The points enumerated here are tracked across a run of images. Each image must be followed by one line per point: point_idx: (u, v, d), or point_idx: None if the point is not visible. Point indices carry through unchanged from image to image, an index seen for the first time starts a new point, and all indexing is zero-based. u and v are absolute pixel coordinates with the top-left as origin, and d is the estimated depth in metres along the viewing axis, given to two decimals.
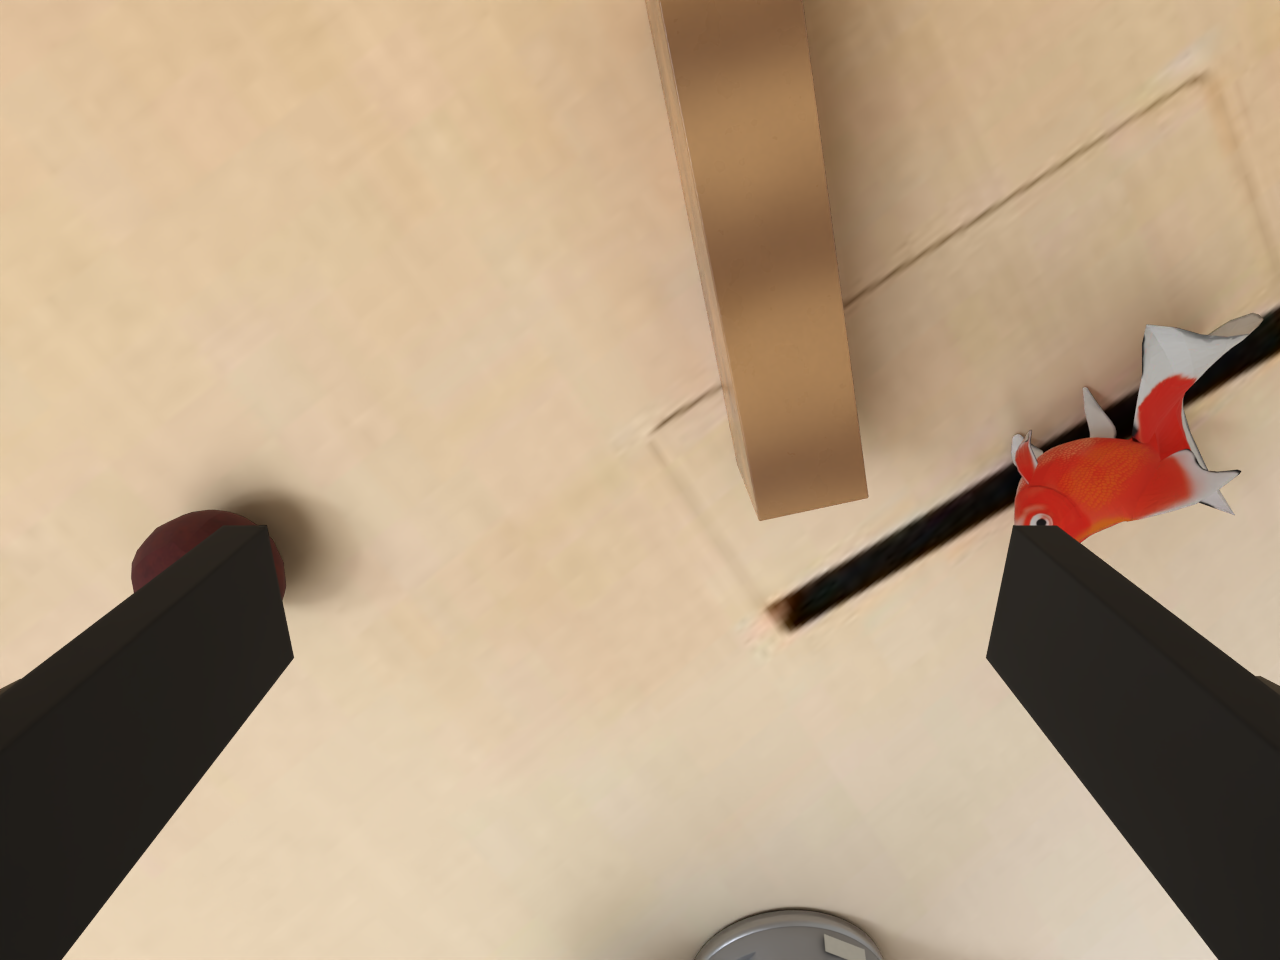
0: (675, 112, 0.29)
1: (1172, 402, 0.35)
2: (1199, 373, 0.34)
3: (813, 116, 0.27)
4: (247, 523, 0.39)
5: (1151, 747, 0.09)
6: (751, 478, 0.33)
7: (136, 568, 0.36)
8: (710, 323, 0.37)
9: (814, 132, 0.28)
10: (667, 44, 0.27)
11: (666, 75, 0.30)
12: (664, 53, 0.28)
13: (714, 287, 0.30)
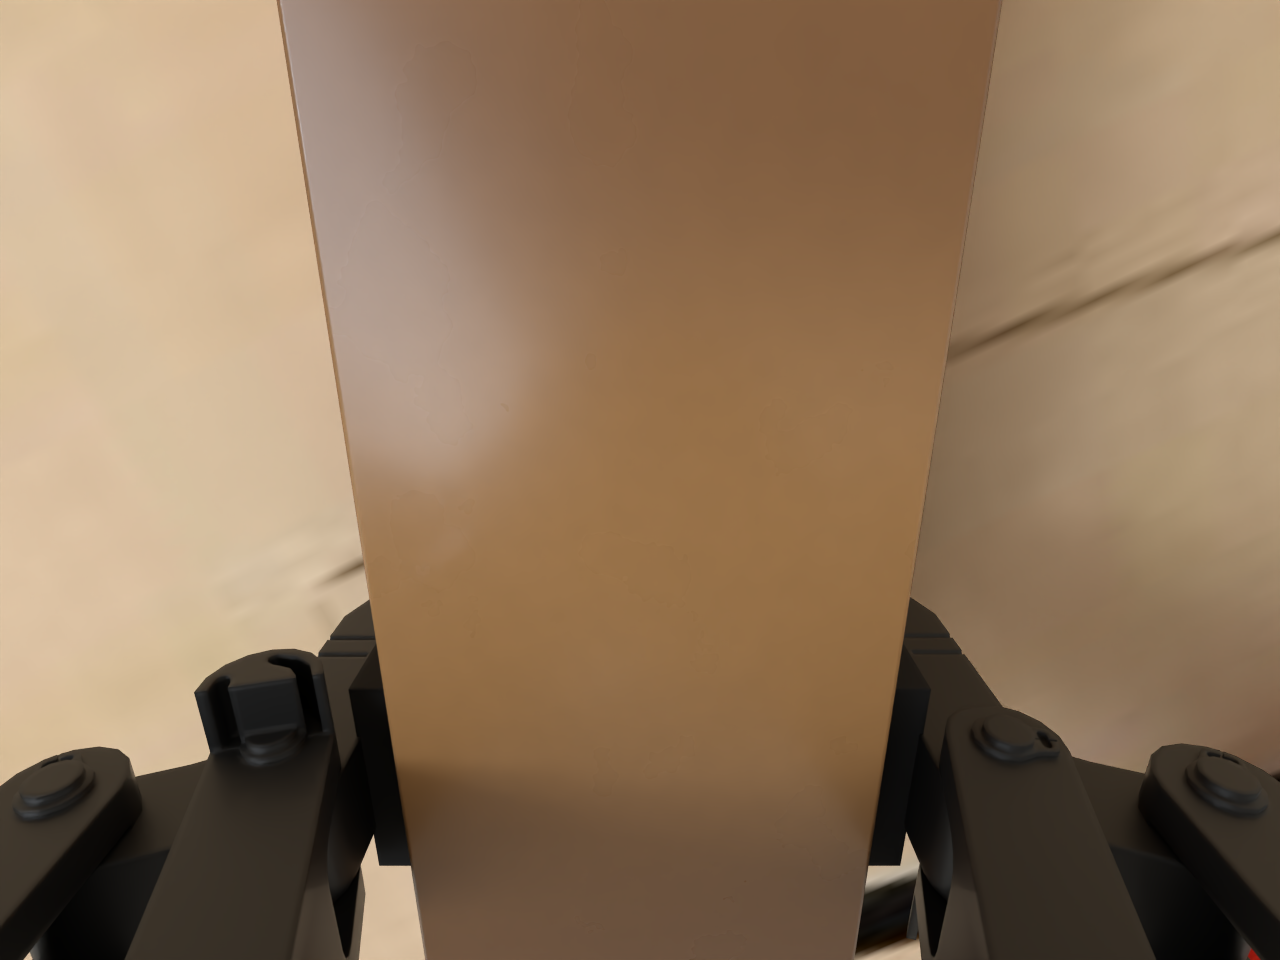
0: None
1: None
2: None
3: None
4: None
5: None
6: None
7: None
8: None
9: None
10: None
11: None
12: None
13: (310, 180, 0.06)
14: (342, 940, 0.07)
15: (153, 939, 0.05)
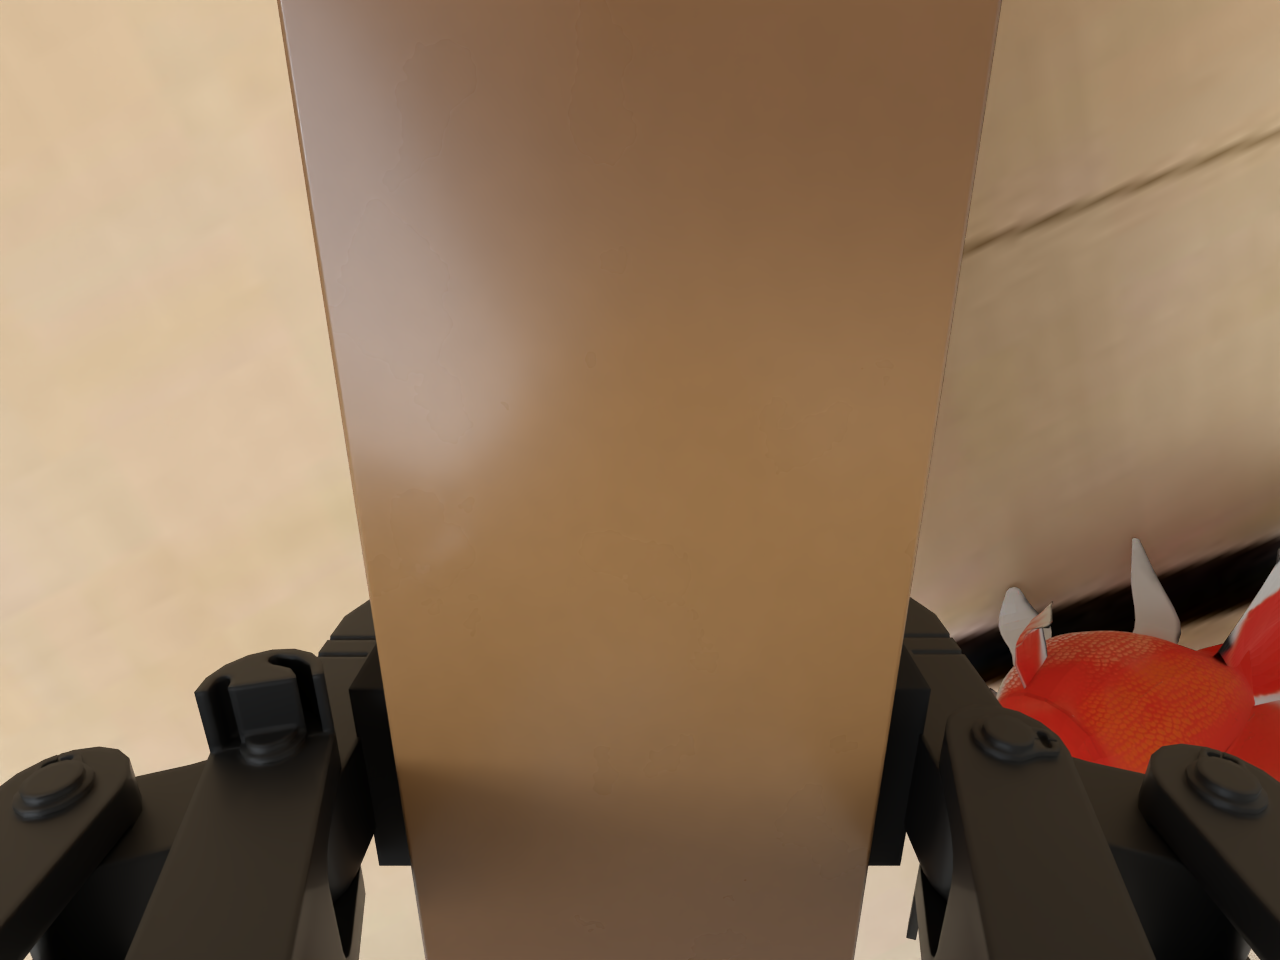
0: None
1: None
2: None
3: None
4: None
5: None
6: None
7: None
8: None
9: None
10: None
11: None
12: None
13: (310, 178, 0.06)
14: (342, 940, 0.07)
15: (153, 939, 0.05)
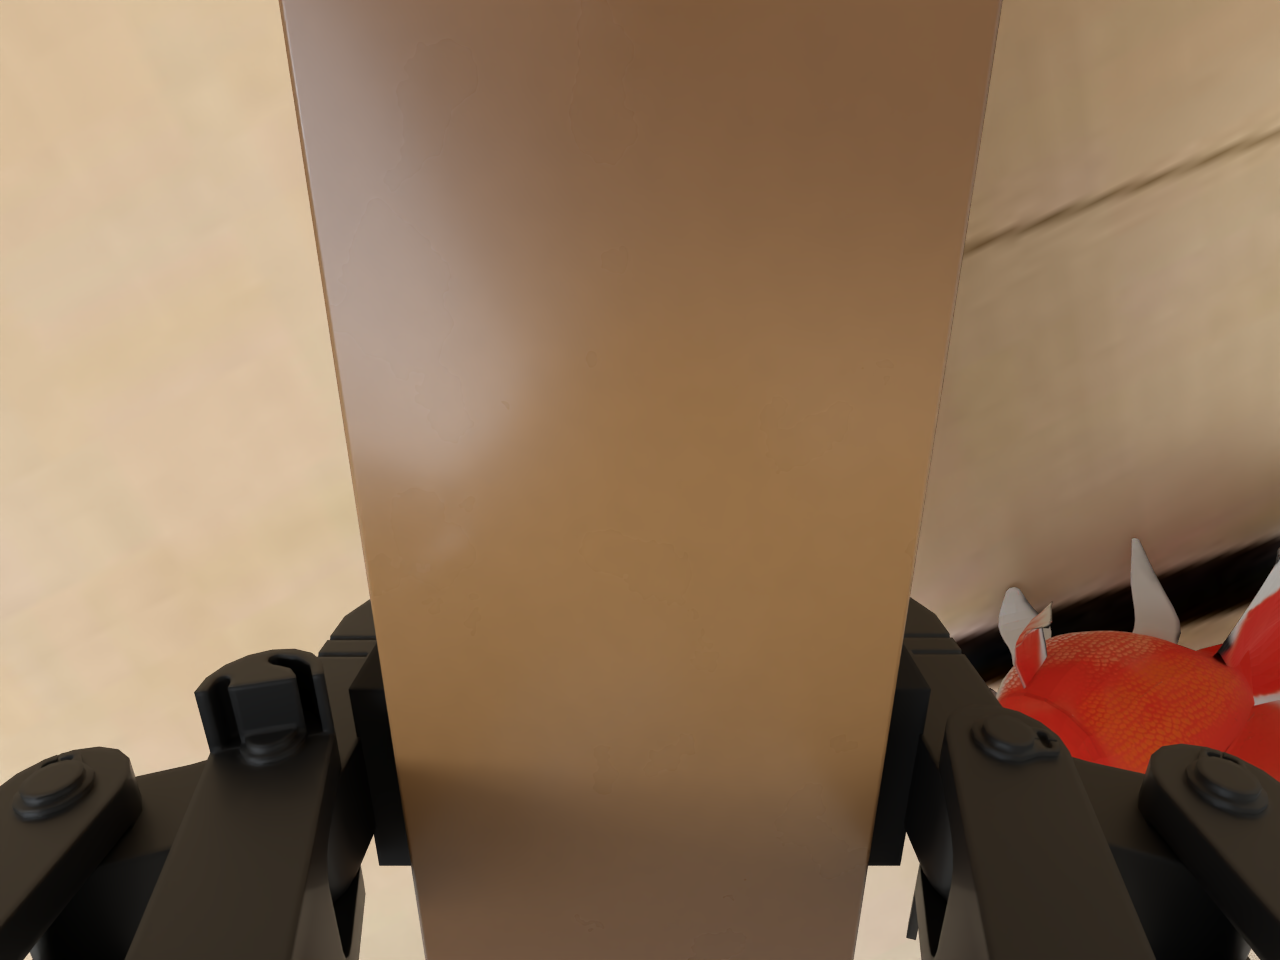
0: None
1: None
2: None
3: None
4: None
5: None
6: None
7: None
8: None
9: None
10: None
11: None
12: None
13: (311, 177, 0.06)
14: (342, 940, 0.07)
15: (153, 939, 0.05)
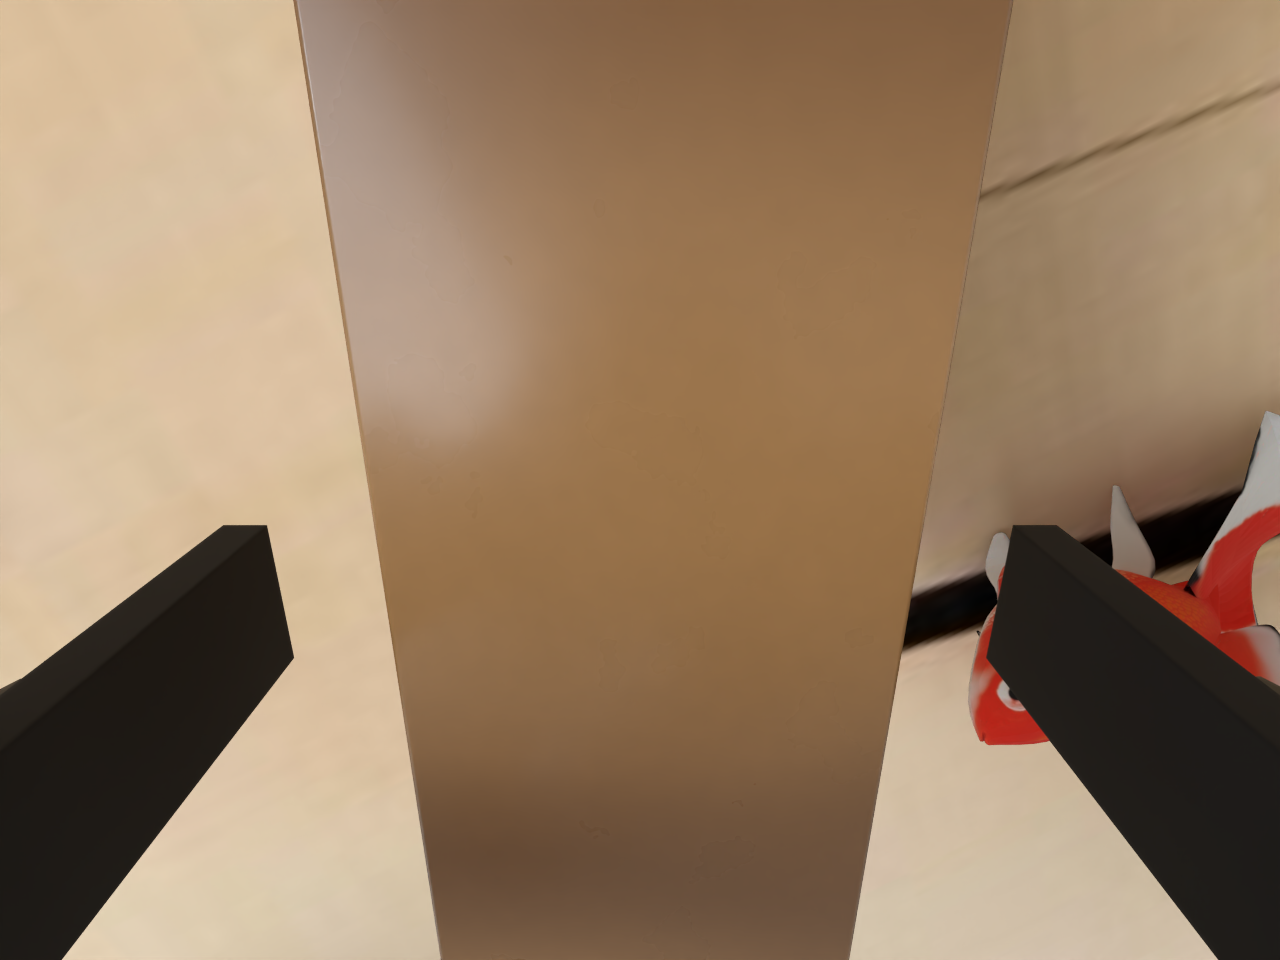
0: None
1: (1259, 544, 0.21)
2: None
3: None
4: None
5: (1149, 747, 0.09)
6: (431, 871, 0.08)
7: None
8: None
9: None
10: None
11: None
12: None
13: (299, 0, 0.05)
14: None
15: None
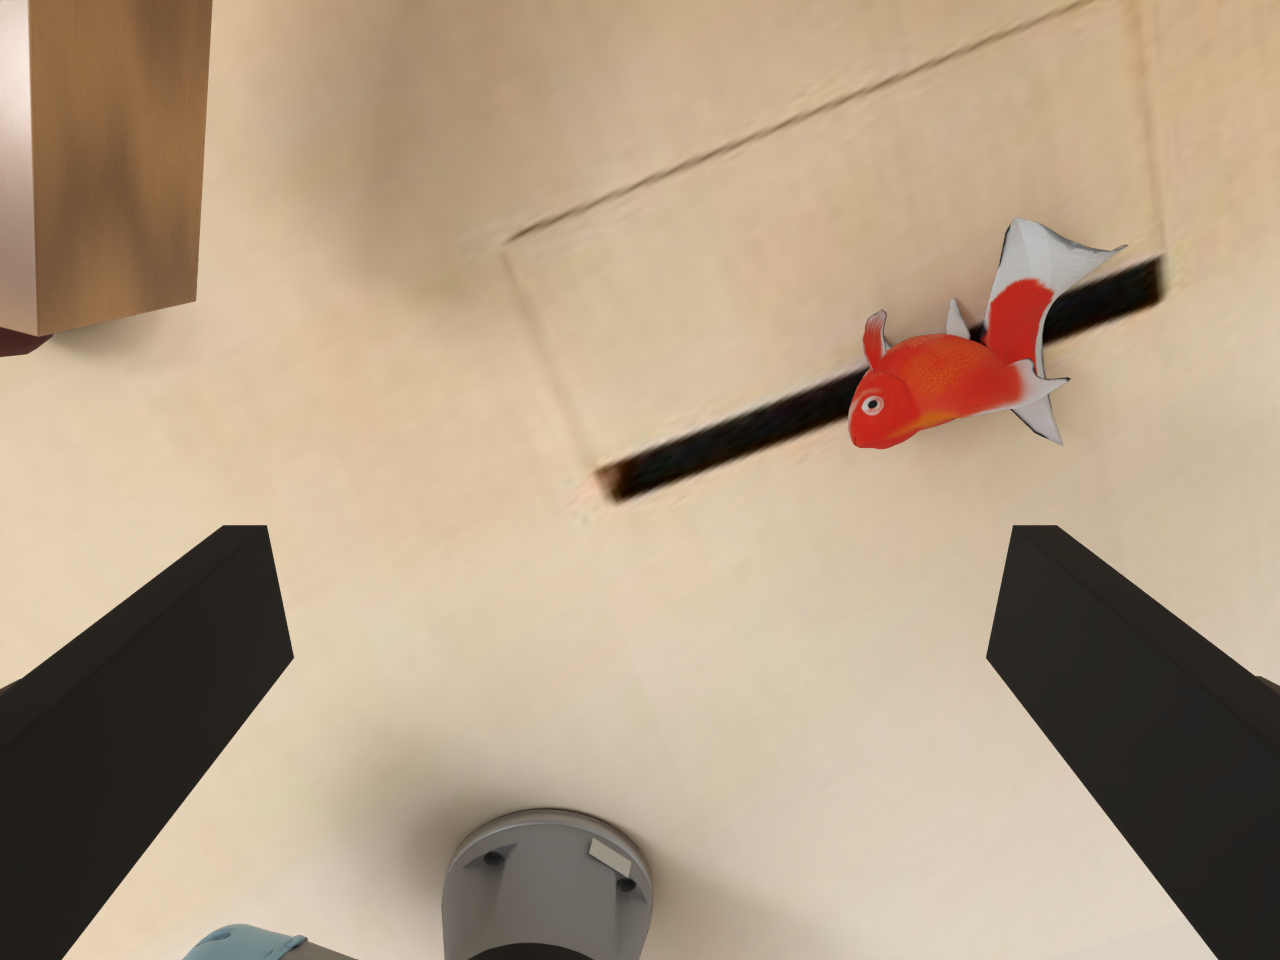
0: None
1: (1026, 312, 0.34)
2: (1057, 286, 0.33)
3: None
4: None
5: (1150, 747, 0.09)
6: None
7: None
8: None
9: None
10: None
11: None
12: None
13: None
14: None
15: None
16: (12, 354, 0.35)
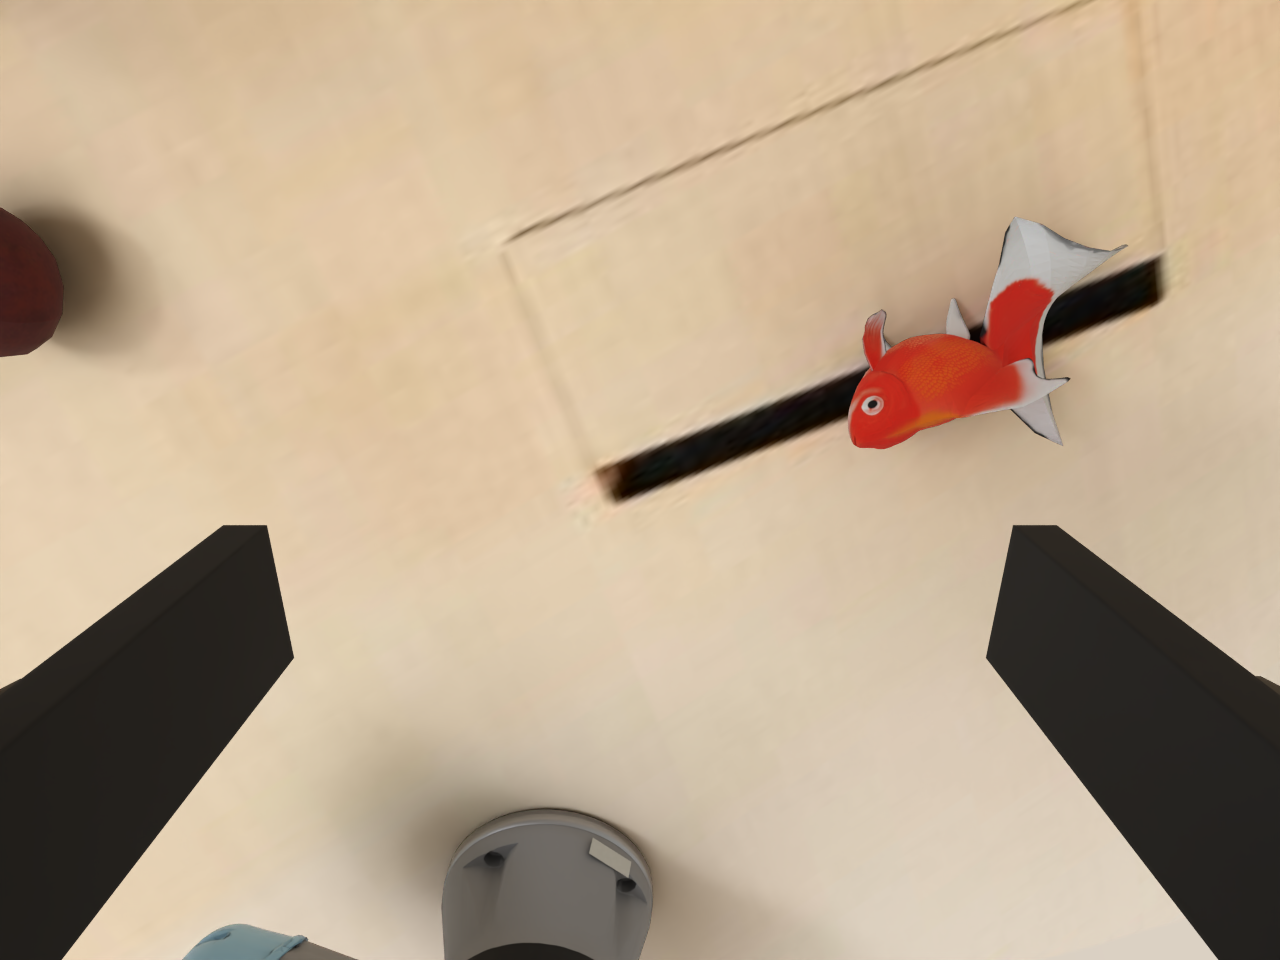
0: None
1: (1026, 312, 0.34)
2: (1057, 286, 0.33)
3: None
4: (24, 226, 0.34)
5: (1151, 747, 0.09)
6: None
7: None
8: None
9: None
10: None
11: None
12: None
13: None
14: None
15: None
16: (12, 354, 0.35)
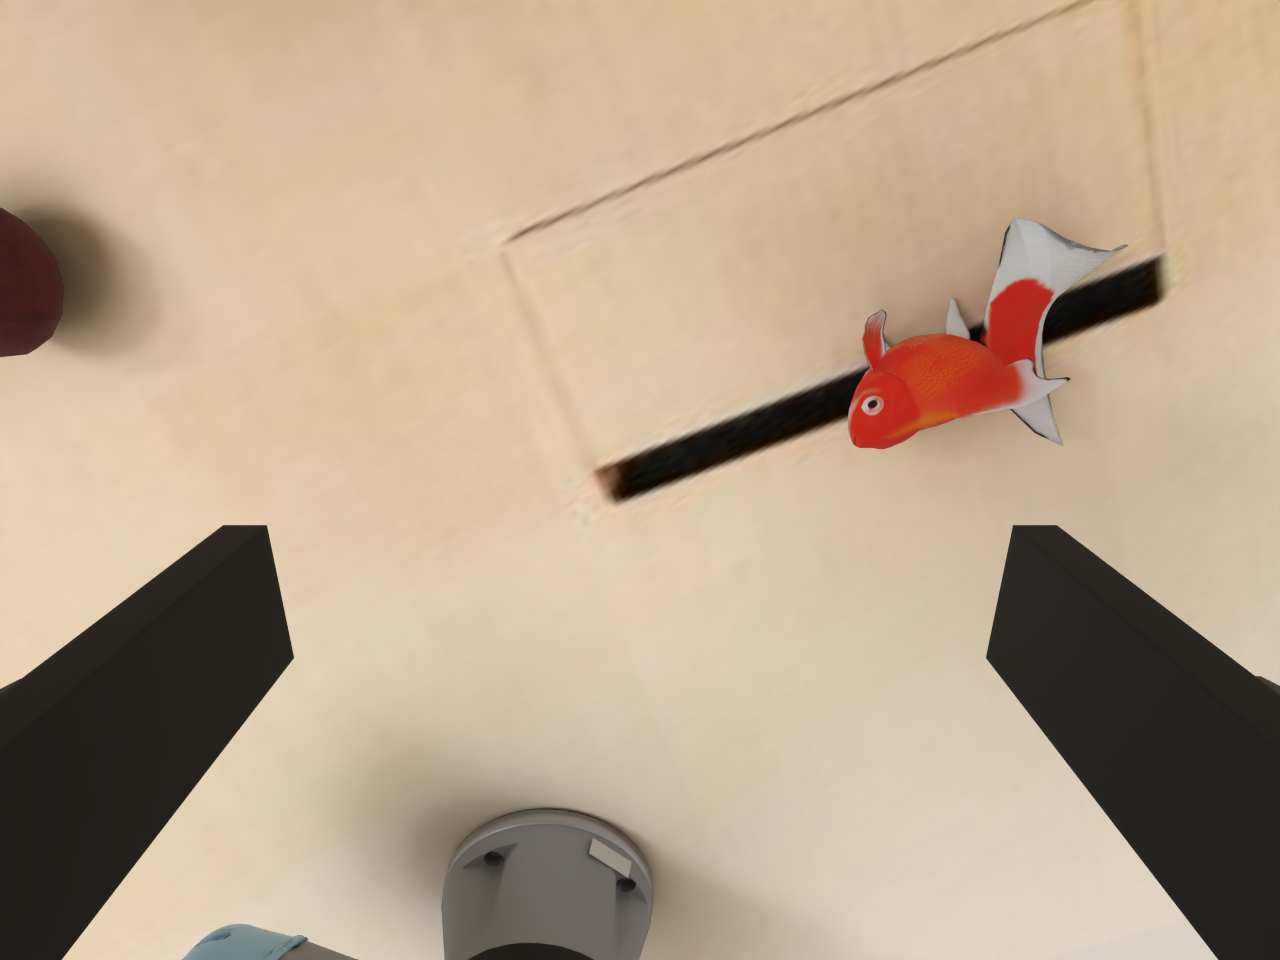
0: None
1: (1026, 312, 0.34)
2: (1057, 286, 0.33)
3: None
4: (24, 226, 0.34)
5: (1151, 747, 0.09)
6: None
7: None
8: None
9: None
10: None
11: None
12: None
13: None
14: None
15: None
16: (12, 354, 0.35)
